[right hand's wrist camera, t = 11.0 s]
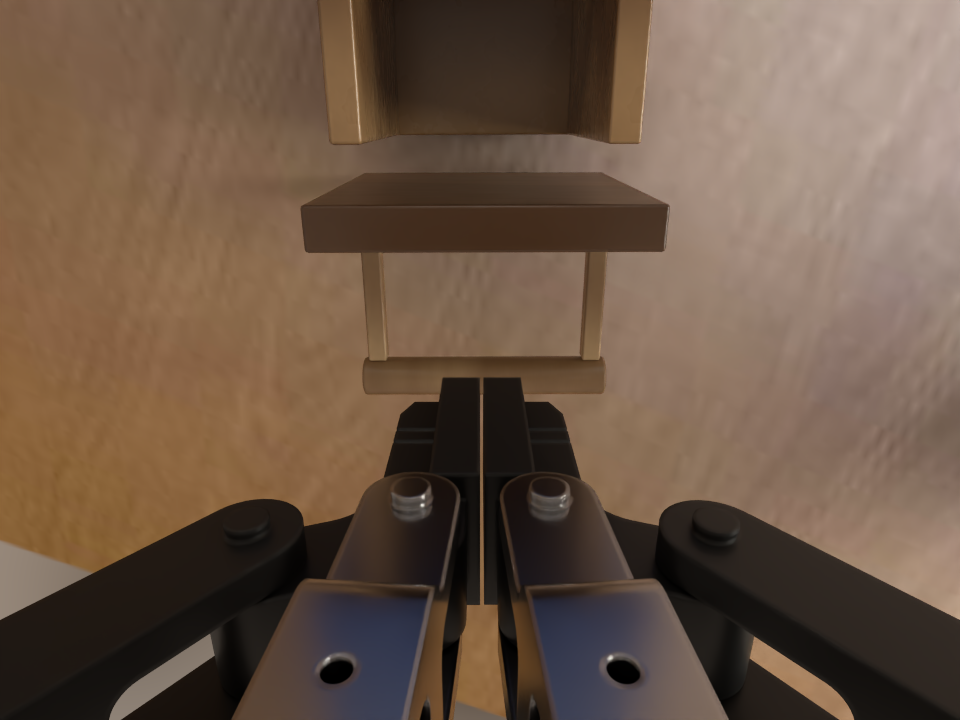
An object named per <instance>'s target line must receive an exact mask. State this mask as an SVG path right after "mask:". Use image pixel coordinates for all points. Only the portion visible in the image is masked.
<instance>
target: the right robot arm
mask: <svg viewBox="0 0 960 720" xmlns="http://www.w3.org/2000/svg"><path fill="white" fill-rule="evenodd" d="M483 521H484V605H498V655H499V662H500V670H501V678H502V686H503V694H504V702H505V709H506V717H507V720H839V719H837V718H836V717H834V716H833V715H831V714H830V713H828V712H827V711H825V710H824V709H822V708H821V707H820V706H818V705H817V704H815V703H814V702H812V701H811V700H809V699H808V698H806V697H805V696H803V695H802V694H801V693H799V692H798V691H796V690H795V689H793V688H792V687H790V686H789V685H787V684H786V683H784V682H783V681H781V680H780V679H779V678H777V677H776V676H774V675H773V674H771V673H770V672H768V671H767V670H765V669H764V668H762V667H761V666H760V665H758V664H757V663H755V662H754V661H752V660H751V659H749V658H750V654H751V649H752V644H753V639H754V636H755V637H756V638H758V639H759V640H761V641H762V642H764V643H766V644H767V645H769V646H770V647H772V648H773V649H775V650H776V651H778V652H779V653H781V654H782V655H784V656H785V657H787V658H789V659H790V660H792V661H793V662H795V663H796V664H798V665H799V666H801V667H802V668H804V669H805V670H807V671H808V672H810V673H812V674H813V675H815V676H816V677H818V678H819V679H821V680H822V681H824V682H825V683H827V684H828V685H829V686H831V687H832V688H833V689H834V690H835V691H837V692H838V693H839V695H840V696H841V697H842V698H843V699H844V700H845V702H846V703H847V705H848V706H849V708H850V710H851V712H852V714H853V716H854V720H960V620H959V619H957V618H955V617H953V616H951V615H949V614H947V613H945V612H943V611H941V610H939V609H937V608H935V607H933V606H931V605H929V604H927V603H925V602H923V601H921V600H919V599H917V598H915V597H913V596H911V595H909V594H907V593H905V592H903V591H901V590H899V589H897V588H895V587H893V586H891V585H889V584H887V583H885V582H883V581H881V580H879V579H877V578H875V577H873V576H871V575H869V574H867V573H865V572H863V571H861V570H859V569H857V568H855V567H853V566H851V565H849V564H847V563H845V562H843V561H841V560H839V559H837V558H835V557H833V556H831V555H829V554H827V553H825V552H823V551H821V550H819V549H817V548H815V547H813V546H811V545H809V544H807V543H805V542H803V541H801V540H799V539H797V538H795V537H793V536H791V535H789V534H787V533H785V532H783V531H782V530H780V529H778V528H776V527H774V526H772V525H770V524H768V523H766V522H764V521H762V520H760V519H758V518H756V517H754V516H752V515H750V514H748V513H746V512H744V511H741V510H739V509H737V508H735V507H732V506H729V505H726V504H722V503H718V502H712V501H702V500H691V501H684V502H680V503H676V504H674V505H672V506H669V507H668V508H667V509H665V510H664V512H663V513H662V514H661V517H660V519H659V526H657V525H652V524H647V523H642V522H637V521H632V520H628V519H624V518H621V517H618V516H615V515H613V514H611V513H609V512H606V511H605V510H604V509H603V507H602V505H601V503H600V500H599V498H598V496H597V494H596V493H595V491H594V490H593V489H592V488H591V487H590V486H589V485H588V484H586V483H585V482H583V481H582V480H581V478H580V474H579V471H578V467H577V464H576V460H575V456H574V453H573V449H572V446H571V443H570V438H569V435H568V431H567V428H566V424H565V420H564V417H563V414H562V413H561V412H560V411H559V410H557V409H556V408H555V407H554V406H553V405H551V404H550V403H549V402H524V395H523V389H522V383H521V377H483ZM467 605H480V377H443V378H442V385H441V392H440V399H439V402H414V403H413V404H412V405H411V406H410V407H408V408H407V409H406V410H405V411H404V412H403V413H401V415H400V418H399V422H398V426H397V431H396V434H395V437H394V443H393V445H392V449H391V452H390V456H389V460H388V464H387V467H386V471H385V475H384V478H382V479H380V480H378V481H377V482H375V483H374V484H372V485H371V486H370V487H369V488H368V489H367V490H366V491H365V493H364V494H363V496H362V498H361V500H360V503H359V505H358V507H357V509H356V512H355V513H354V514H352V515H350V516H347V517H344V518H341V519H337V520H333V521H329V522H324V523H319V524H314V525H309V526H304V523H303V517H302V514H301V512H300V511H299V510H298V509H297V508H296V507H295V506H293V505H291V504H289V503H287V502H284V501H280V500H273V499H256V500H249V501H244V502H240V503H236V504H233V505H230V506H227V507H225V508H223V509H220V510H218V511H216V512H214V513H212V514H210V515H208V516H206V517H204V518H202V519H200V520H198V521H196V522H194V523H192V524H190V525H188V526H186V527H184V528H182V529H181V530H179V531H177V532H175V533H173V534H171V535H169V536H167V537H165V538H163V539H161V540H159V541H157V542H155V543H153V544H151V545H149V546H147V547H145V548H143V549H141V550H139V551H137V552H135V553H133V554H131V555H129V556H127V557H125V558H123V559H121V560H119V561H117V562H115V563H113V564H111V565H109V566H107V567H105V568H103V569H101V570H99V571H97V572H95V573H93V574H91V575H89V576H87V577H85V578H83V579H81V580H79V581H77V582H75V583H73V584H71V585H69V586H67V587H65V588H63V589H61V590H59V591H57V592H55V593H53V594H51V595H49V596H47V597H45V598H43V599H41V600H39V601H37V602H35V603H33V604H31V605H29V606H27V607H25V608H23V609H21V610H19V611H17V612H15V613H13V614H11V615H9V616H7V617H5V618H3V619H1V620H0V720H109V717H110V714H111V711H112V709H113V707H114V705H115V703H116V702H117V700H118V699H119V698H120V696H121V695H122V694H123V693H124V692H125V691H126V690H127V689H128V688H129V687H130V686H131V685H132V684H134V683H135V682H136V681H138V680H139V679H141V678H142V677H144V676H145V675H147V674H148V673H150V672H151V671H153V670H154V669H156V668H158V667H159V666H161V665H162V664H164V663H165V662H167V661H168V660H170V659H171V658H173V657H175V656H176V655H178V654H179V653H181V652H182V651H184V650H185V649H187V648H188V647H190V646H191V645H193V644H195V643H196V642H198V641H199V640H201V639H202V638H204V637H205V636H207V635H208V634H210V635H211V639H212V644H213V649H214V654H215V656H214V657H212V658H211V659H209V660H208V661H206V662H205V663H203V664H202V665H200V666H199V667H198V668H196V669H195V670H193V671H192V672H190V673H189V674H187V675H186V676H184V677H183V678H181V679H180V680H179V681H177V682H176V683H174V684H173V685H171V686H170V687H168V688H167V689H165V690H164V691H162V692H161V693H160V694H158V695H157V696H155V697H154V698H152V699H151V700H149V701H148V702H146V703H145V704H143V705H142V706H141V707H139V708H138V709H136V710H135V711H133V712H132V713H130V714H129V715H127V716H126V717H124V718H123V719H122V720H453V717H454V709H455V702H456V694H457V686H458V678H459V670H460V662H461V655H462V633H463V631H464V628H465V625H466V613H467Z"/></svg>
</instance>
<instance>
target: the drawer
mask: <svg viewBox="0 0 960 720" xmlns="http://www.w3.org/2000/svg"><path fill="white" fill-rule="evenodd" d="M317 2H318V14H319V26H320V37H321V49H322V60H323V72H324V84H325V95H326V107H327V118H328V130H329V141H330V143H331V144H333V145H359V144H363V143H367V142H371V141H375V140H379V139H383V138H387V137H391V136H395V135H506V134H569V135H574V136H578V137H583V138H587V139H592V140H596V141H600V142H605V143H609V144H638V143H640V142H641V134H642V122H643V110H644V99H645V87H646V76H647V64H648V53H649V41H650V29H651V18H652V6H653V0H317ZM669 211H670V207H669V205H668V204H666V203H664V202H662V201H660V200H658V199H656V198H653V197H651V196H649V195H647V194H645V193H643V192H641V191H639V190H637V189H635V188H633V187H630V186H628V185H626V184H624V183H622V182H620V181H618V180H616V179H614V178H612V177H610V176H607V175H605V174H603V173H601V172H598V173H365V174H363V175H361V176H359V177H357V178H355V179H353V180H351V181H349V182H347V183H345V184H343V185H341V186H339V187H338V188H336V189H334V190H332V191H330V192H328V193H326V194H324V195H322V196H320V197H318V198H316V199H314V200H312V201H310V202H308V203H306V204H304V205H302V206H301V218H302V227H303V237H304V246H305V251H306V252H308V253H361V257H362V271H363V285H364V298H365V312H366V326H367V339H368V353H369V357H367V358H365V360H364V364H363V388H364V391H365V393H366V394H440V392H441V385H442V378H443V377H480V394H483V377H521V383H522V389H523V394H602V393H603V392H604V390H605V386H606V365H605V361H604V358H603V357H601V356H600V347H601V333H602V319H603V305H604V291H605V277H606V263H607V252H662V251H664V250H665V248H666V239H667V229H668V220H669ZM417 252H586V255H585V272H584V289H583V306H582V323H581V339H580V355H581V356H531V357H388V355H389V349H388V333H387V316H386V300H385V283H384V267H383V253H417Z"/></svg>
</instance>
